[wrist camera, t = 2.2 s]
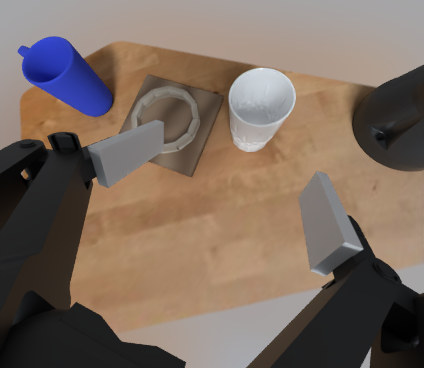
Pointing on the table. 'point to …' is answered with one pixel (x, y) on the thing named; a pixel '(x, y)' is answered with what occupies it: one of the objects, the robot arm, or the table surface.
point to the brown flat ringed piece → (176, 120)
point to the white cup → (259, 107)
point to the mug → (65, 75)
